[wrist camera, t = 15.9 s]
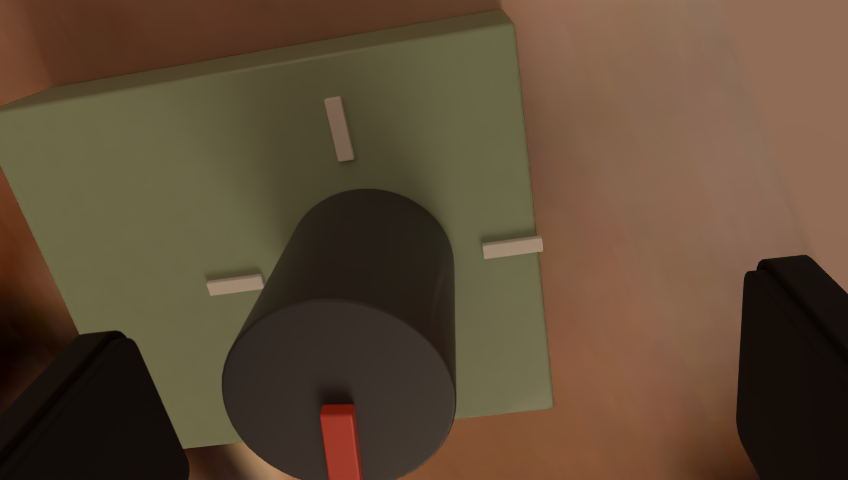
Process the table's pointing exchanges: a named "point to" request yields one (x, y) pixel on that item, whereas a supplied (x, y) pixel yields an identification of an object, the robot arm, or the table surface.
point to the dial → (350, 344)
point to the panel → (285, 196)
